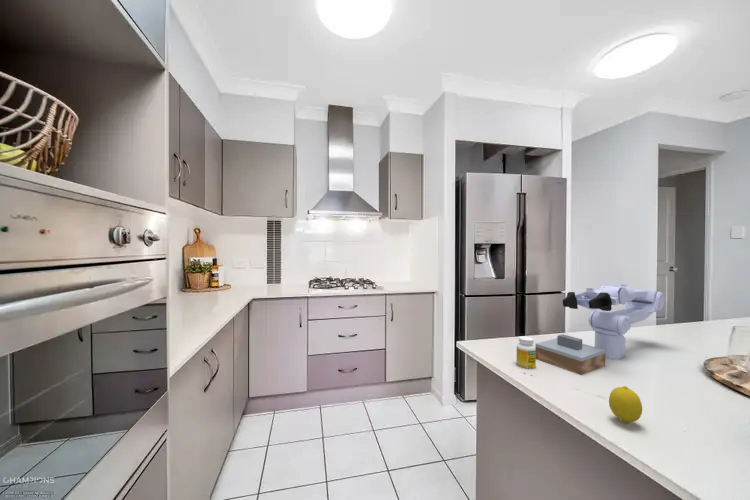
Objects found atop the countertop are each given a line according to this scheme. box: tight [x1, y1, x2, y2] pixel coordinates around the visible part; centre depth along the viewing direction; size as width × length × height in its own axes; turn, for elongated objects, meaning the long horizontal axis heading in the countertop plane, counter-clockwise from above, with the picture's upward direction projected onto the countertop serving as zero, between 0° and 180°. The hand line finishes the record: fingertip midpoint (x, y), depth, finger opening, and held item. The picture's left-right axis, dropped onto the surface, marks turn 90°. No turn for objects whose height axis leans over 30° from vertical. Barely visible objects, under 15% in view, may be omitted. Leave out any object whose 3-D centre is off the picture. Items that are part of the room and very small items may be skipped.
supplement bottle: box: [516, 335, 537, 370], centre depth 92 cm, size 5×5×10 cm
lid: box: [534, 334, 606, 361], centre depth 95 cm, size 14×14×6 cm
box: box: [535, 347, 606, 376], centre depth 95 cm, size 14×14×5 cm
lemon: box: [608, 385, 643, 424], centre depth 64 cm, size 6×6×8 cm
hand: (576, 304), depth 91 cm, fingers open, 7 cm apart
